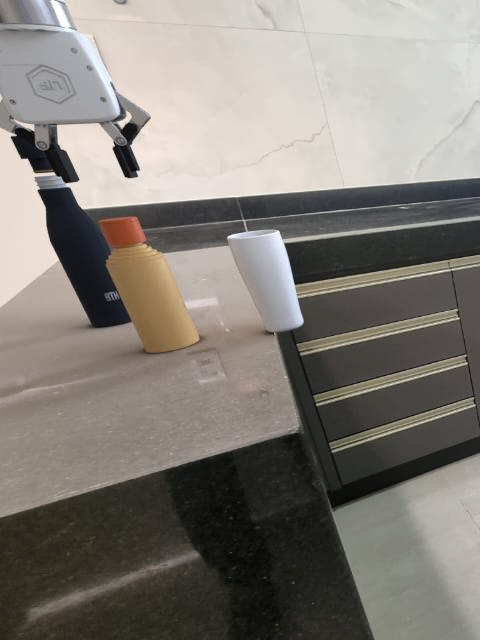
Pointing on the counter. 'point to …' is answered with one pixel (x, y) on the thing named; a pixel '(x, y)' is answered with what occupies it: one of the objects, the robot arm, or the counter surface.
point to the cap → (122, 231)
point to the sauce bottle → (151, 297)
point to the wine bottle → (76, 243)
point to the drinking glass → (267, 278)
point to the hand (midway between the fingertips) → (102, 178)
